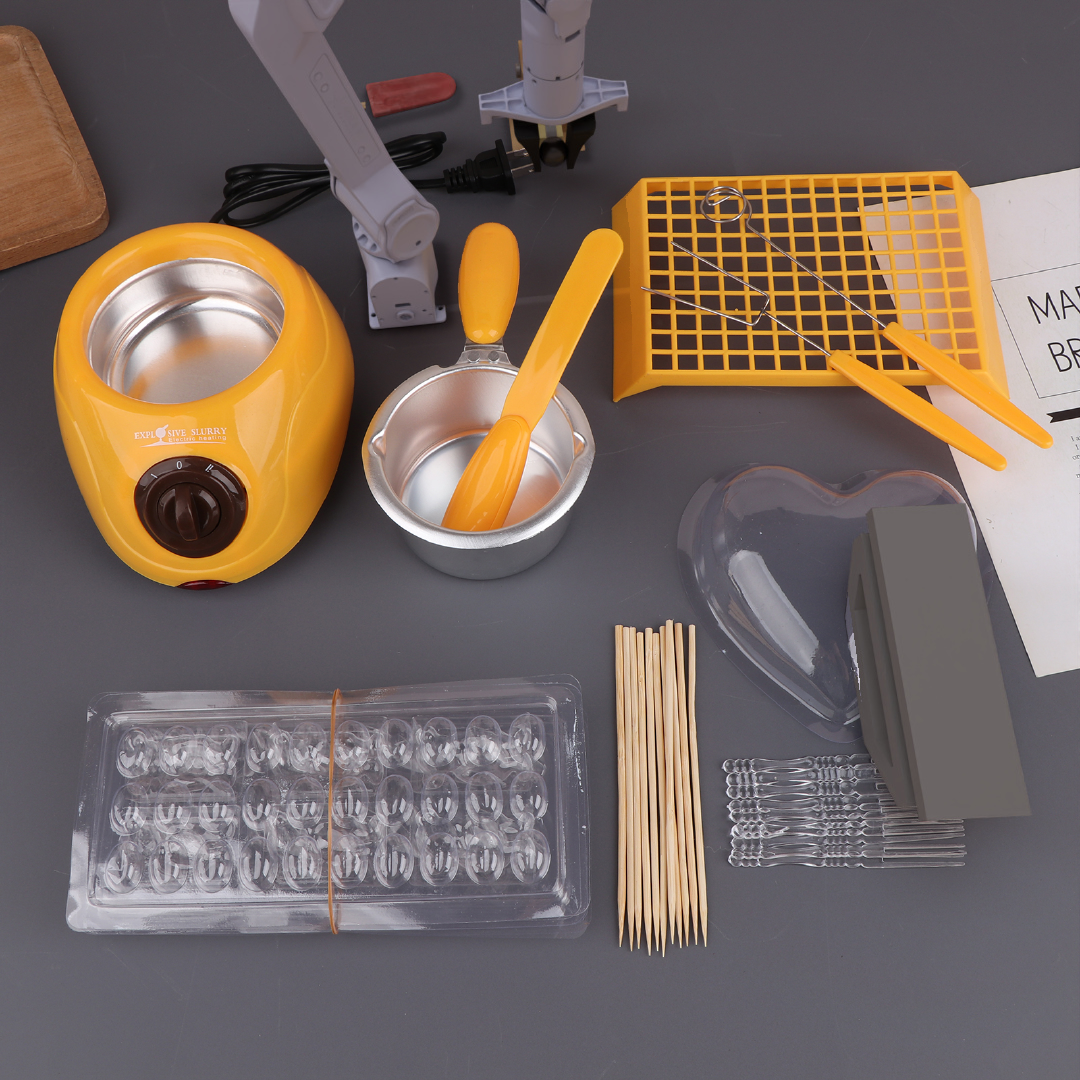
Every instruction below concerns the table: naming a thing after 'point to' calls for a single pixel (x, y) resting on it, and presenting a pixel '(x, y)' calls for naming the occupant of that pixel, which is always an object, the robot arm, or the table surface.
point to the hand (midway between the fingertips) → (553, 163)
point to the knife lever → (552, 148)
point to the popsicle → (409, 93)
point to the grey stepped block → (931, 667)
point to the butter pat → (543, 133)
